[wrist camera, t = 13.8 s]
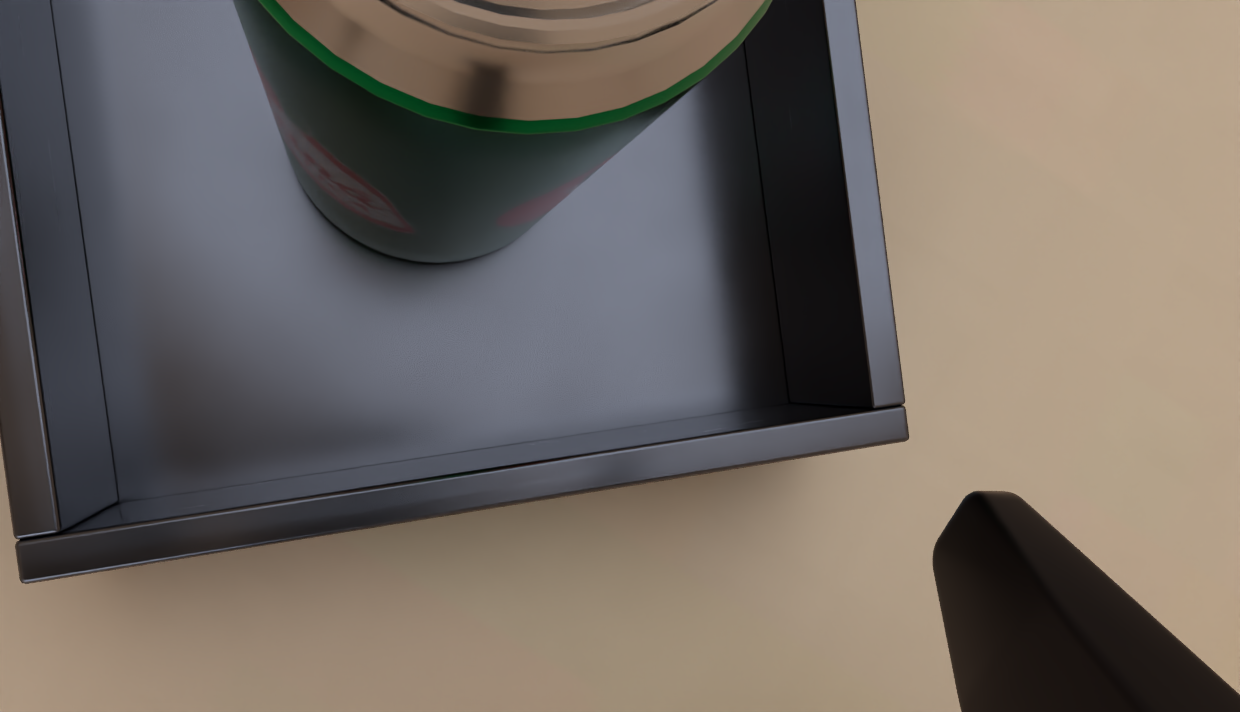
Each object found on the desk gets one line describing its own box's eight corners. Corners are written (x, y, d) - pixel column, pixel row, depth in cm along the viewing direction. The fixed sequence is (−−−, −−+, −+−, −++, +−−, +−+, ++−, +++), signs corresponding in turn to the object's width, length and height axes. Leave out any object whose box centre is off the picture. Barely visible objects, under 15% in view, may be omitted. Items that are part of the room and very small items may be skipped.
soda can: (239, 26, 18) (20, -578, 7) (515, -50, 19) (742, -681, 8) (343, 305, 19) (309, 193, 7) (608, 214, 20) (961, -11, 8)
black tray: (811, 428, 21) (911, 441, 17) (92, 540, 18) (19, 586, 14) (727, -239, 21) (810, -377, 17) (-14, -239, 18) (-120, -409, 14)
